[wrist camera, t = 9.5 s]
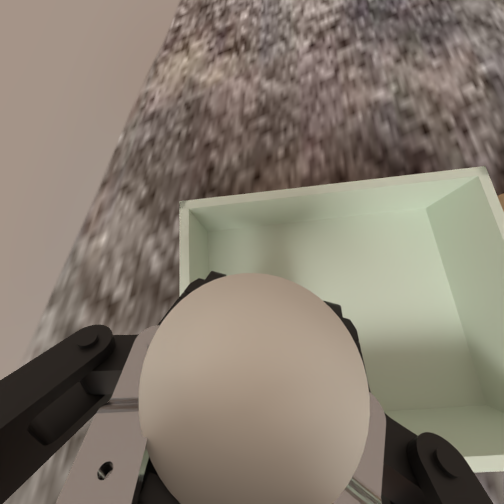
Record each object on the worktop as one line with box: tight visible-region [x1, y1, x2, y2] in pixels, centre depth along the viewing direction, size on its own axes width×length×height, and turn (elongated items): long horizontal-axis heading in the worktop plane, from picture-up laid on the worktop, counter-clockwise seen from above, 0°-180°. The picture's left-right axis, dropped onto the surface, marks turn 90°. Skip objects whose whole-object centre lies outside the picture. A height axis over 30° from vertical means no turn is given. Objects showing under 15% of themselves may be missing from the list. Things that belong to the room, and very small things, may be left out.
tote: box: [180, 166, 504, 472], centre depth 14 cm, size 19×15×5 cm
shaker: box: [139, 273, 370, 504], centre depth 9 cm, size 5×5×10 cm
